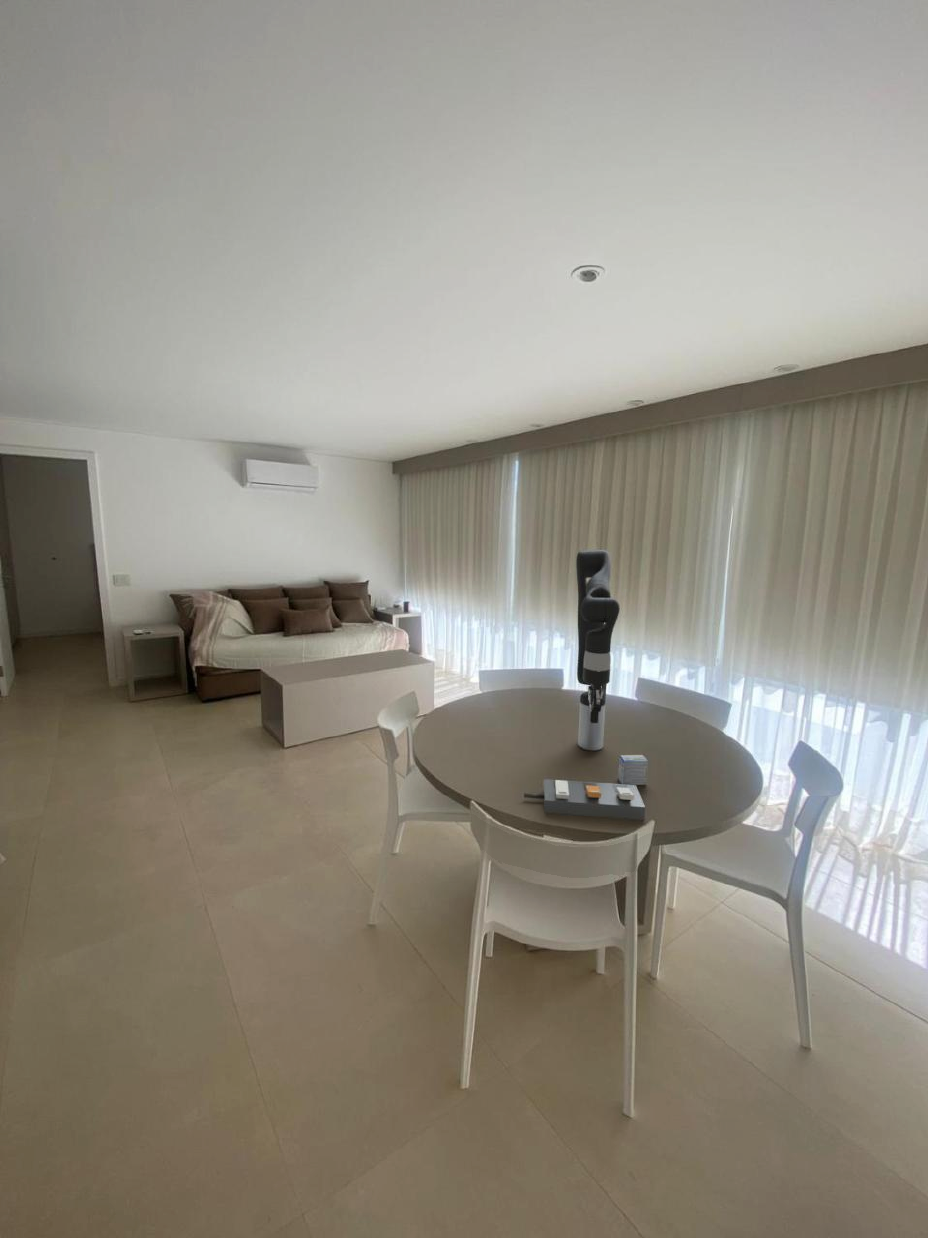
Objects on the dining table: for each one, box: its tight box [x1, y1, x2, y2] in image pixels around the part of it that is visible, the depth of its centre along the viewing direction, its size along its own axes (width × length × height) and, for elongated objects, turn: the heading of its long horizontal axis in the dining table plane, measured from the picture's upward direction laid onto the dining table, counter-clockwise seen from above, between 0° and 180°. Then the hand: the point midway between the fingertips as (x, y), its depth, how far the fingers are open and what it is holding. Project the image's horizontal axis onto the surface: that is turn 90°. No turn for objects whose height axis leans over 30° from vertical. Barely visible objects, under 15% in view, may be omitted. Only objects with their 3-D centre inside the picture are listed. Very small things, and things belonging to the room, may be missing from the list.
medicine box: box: [617, 754, 649, 786], centre depth 156 cm, size 8×4×9 cm, turn 92°
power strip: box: [523, 778, 646, 821], centre depth 144 cm, size 12×34×5 cm, turn 83°
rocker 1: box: [554, 779, 569, 799], centre depth 141 cm, size 6×4×2 cm, turn 173°
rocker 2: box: [586, 785, 601, 798], centre depth 140 cm, size 6×4×2 cm, turn 173°
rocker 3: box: [616, 787, 634, 800], centre depth 139 cm, size 6×4×2 cm, turn 173°
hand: (593, 722), depth 142 cm, fingers closed
